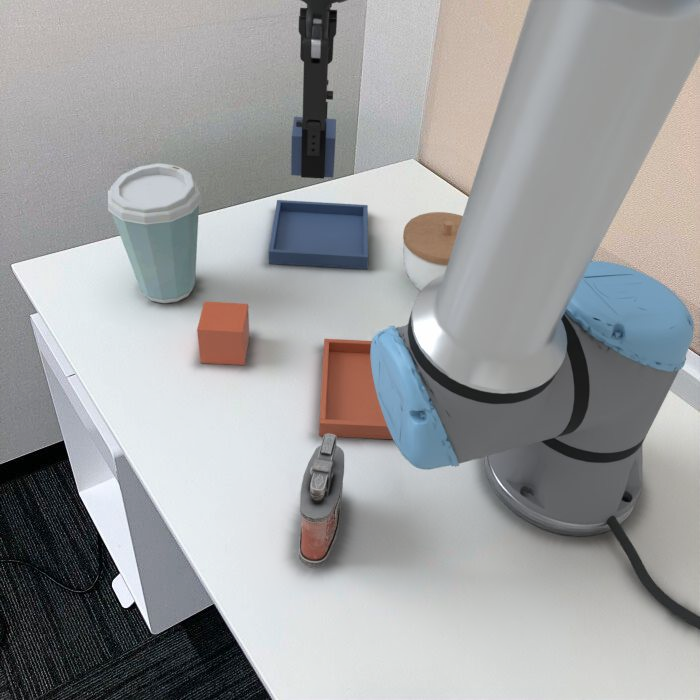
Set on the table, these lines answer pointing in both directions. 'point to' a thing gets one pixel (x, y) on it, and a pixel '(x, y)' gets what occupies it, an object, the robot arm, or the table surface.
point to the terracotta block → (223, 333)
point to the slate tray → (319, 234)
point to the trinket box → (429, 245)
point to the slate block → (329, 148)
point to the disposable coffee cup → (158, 228)
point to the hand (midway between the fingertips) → (313, 164)
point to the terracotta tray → (350, 392)
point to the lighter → (321, 502)
